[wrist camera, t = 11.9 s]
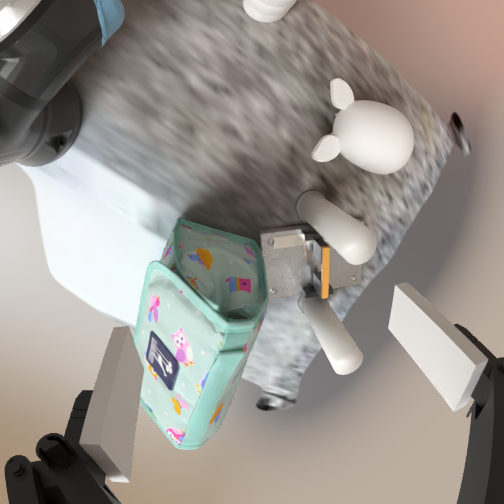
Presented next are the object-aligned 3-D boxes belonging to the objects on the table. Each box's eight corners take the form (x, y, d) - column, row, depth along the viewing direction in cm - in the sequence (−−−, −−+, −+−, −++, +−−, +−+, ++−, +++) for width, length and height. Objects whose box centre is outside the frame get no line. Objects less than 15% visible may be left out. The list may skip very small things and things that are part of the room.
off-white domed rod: (296, 223, 52) (338, 271, 36) (294, 191, 50) (339, 226, 34) (326, 220, 53) (378, 264, 36) (326, 189, 51) (381, 221, 34)
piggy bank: (389, 127, 50) (312, 97, 47) (429, 108, 38) (341, 67, 36) (380, 192, 50) (299, 166, 48) (422, 185, 39) (327, 149, 36)
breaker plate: (263, 294, 57) (267, 306, 53) (258, 230, 52) (263, 238, 48) (356, 278, 58) (365, 288, 55) (359, 218, 54) (370, 225, 50)
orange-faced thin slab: (313, 286, 54) (321, 299, 50) (313, 239, 51) (322, 248, 47) (320, 285, 54) (329, 297, 50) (321, 237, 51) (330, 247, 47)
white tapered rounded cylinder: (298, 314, 59) (329, 380, 43) (297, 290, 57) (332, 353, 41) (324, 309, 60) (363, 371, 44) (325, 285, 58) (367, 344, 41)
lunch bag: (168, 206, 48) (135, 292, 24) (265, 236, 52) (319, 337, 28) (137, 323, 55) (111, 444, 31) (221, 344, 60) (237, 464, 35)
